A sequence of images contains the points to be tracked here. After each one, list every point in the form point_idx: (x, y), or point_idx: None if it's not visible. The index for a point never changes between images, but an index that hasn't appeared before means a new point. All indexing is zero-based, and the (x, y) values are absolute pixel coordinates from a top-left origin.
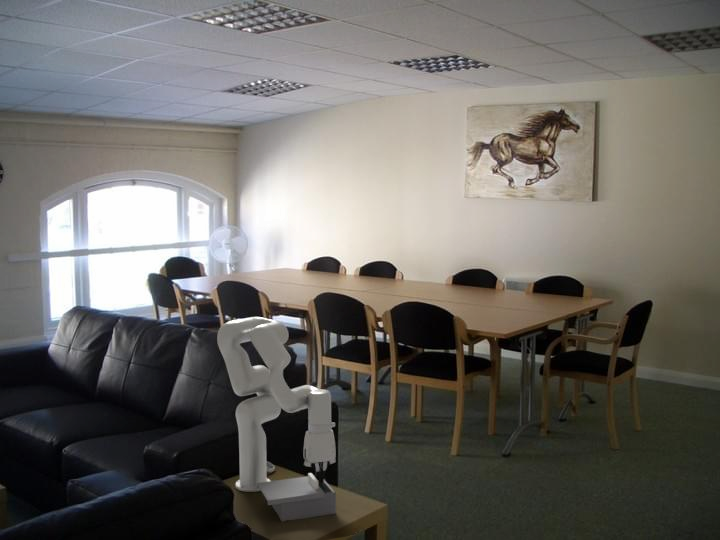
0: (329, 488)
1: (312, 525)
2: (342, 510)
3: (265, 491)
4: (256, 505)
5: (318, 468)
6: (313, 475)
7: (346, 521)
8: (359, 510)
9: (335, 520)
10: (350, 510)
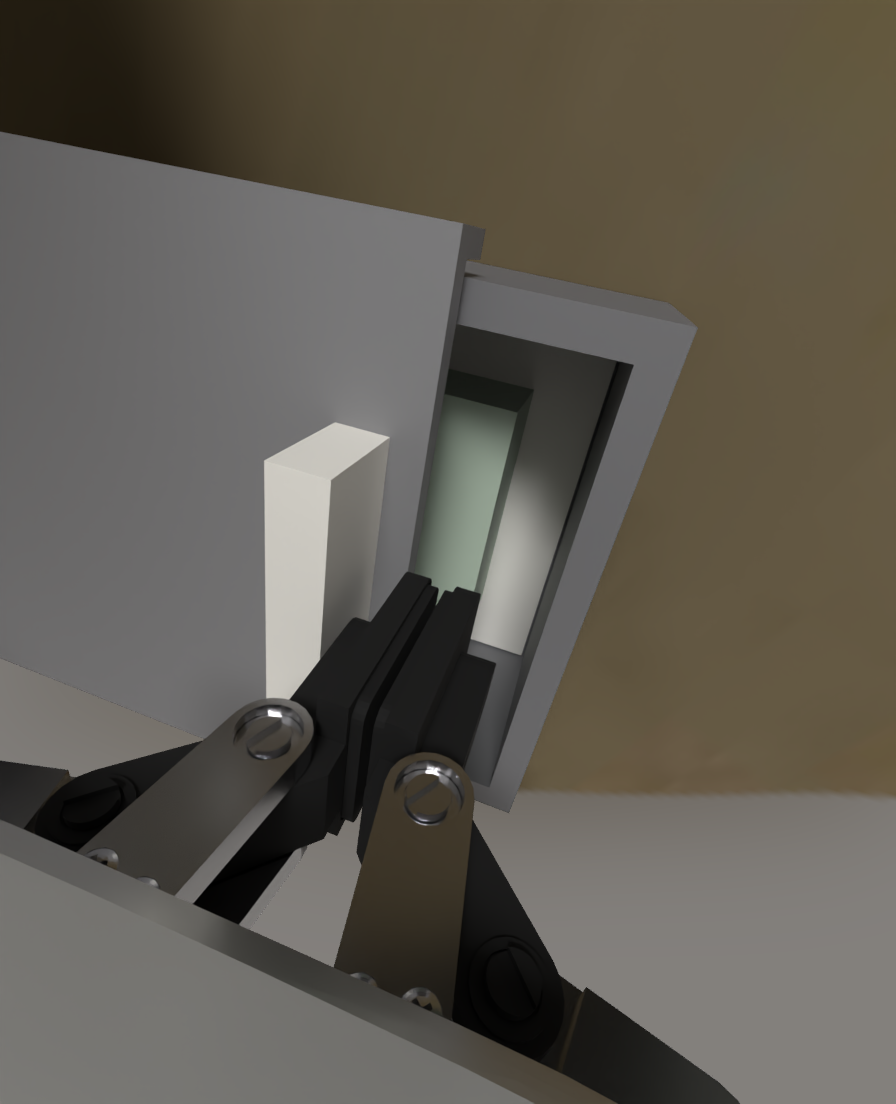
0: (513, 715)
1: None
2: (619, 661)
3: None
4: (3, 111)
5: (270, 869)
6: (321, 608)
7: (527, 780)
8: (734, 739)
9: None
10: (673, 698)
